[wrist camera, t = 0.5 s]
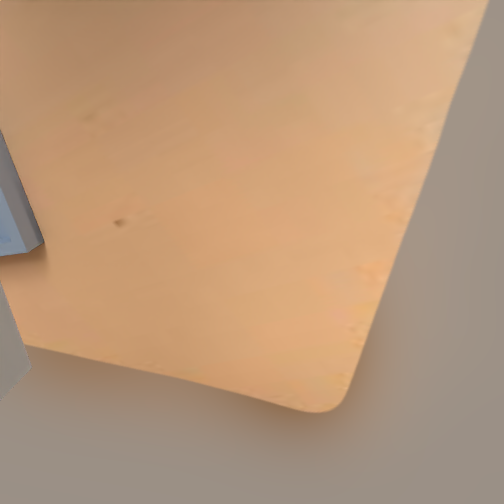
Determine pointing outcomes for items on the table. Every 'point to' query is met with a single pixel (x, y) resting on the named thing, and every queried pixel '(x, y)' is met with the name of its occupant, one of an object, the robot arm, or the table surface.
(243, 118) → the table surface
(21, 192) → the tray
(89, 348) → the table surface
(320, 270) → the table surface
